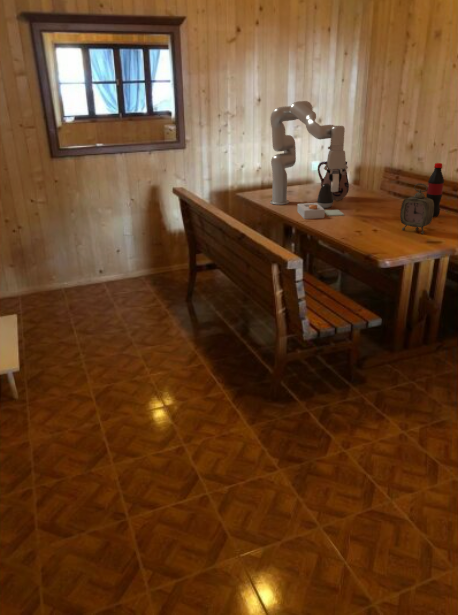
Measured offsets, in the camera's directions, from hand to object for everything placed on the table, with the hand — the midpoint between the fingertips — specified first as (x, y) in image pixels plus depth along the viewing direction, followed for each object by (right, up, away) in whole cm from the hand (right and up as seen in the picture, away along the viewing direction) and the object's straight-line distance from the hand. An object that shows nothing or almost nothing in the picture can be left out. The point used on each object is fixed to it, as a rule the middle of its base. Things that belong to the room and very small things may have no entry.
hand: (335, 180), depth 298 cm
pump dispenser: (-1, -11, +24) cm, 26 cm away
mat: (+1, -18, +8) cm, 20 cm away
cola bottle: (+56, -22, -3) cm, 60 cm away
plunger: (-13, -20, +2) cm, 24 cm away
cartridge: (0, -6, +3) cm, 6 cm away
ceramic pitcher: (+7, -2, +45) cm, 45 cm away
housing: (-13, -19, +7) cm, 24 cm away
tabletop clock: (+36, -35, -31) cm, 59 cm away
